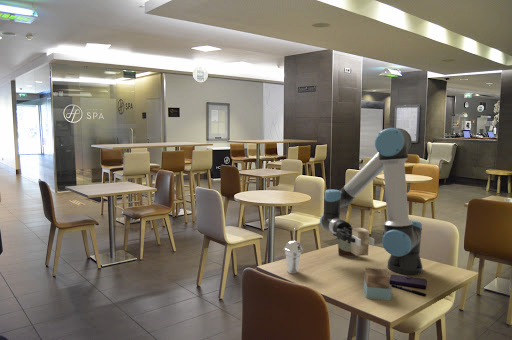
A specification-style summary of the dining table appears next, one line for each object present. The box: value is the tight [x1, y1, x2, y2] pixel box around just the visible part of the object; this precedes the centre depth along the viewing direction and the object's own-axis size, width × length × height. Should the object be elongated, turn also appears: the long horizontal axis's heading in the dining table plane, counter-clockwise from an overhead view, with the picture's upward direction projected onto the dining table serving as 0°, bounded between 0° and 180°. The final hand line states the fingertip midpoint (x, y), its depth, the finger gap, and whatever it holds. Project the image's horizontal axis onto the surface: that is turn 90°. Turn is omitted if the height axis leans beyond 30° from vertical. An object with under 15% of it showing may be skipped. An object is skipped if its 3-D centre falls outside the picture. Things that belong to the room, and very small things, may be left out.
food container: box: [336, 236, 359, 258], centre depth 203 cm, size 12×6×10 cm, turn 77°
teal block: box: [363, 279, 393, 301], centre depth 155 cm, size 9×9×4 cm
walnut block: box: [363, 267, 391, 289], centre depth 154 cm, size 8×8×4 cm
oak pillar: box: [351, 227, 370, 257], centre depth 163 cm, size 5×5×10 cm
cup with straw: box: [283, 223, 304, 274], centre depth 175 cm, size 8×9×20 cm
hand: (366, 242), depth 157 cm, fingers closed on oak pillar, 5 cm apart
